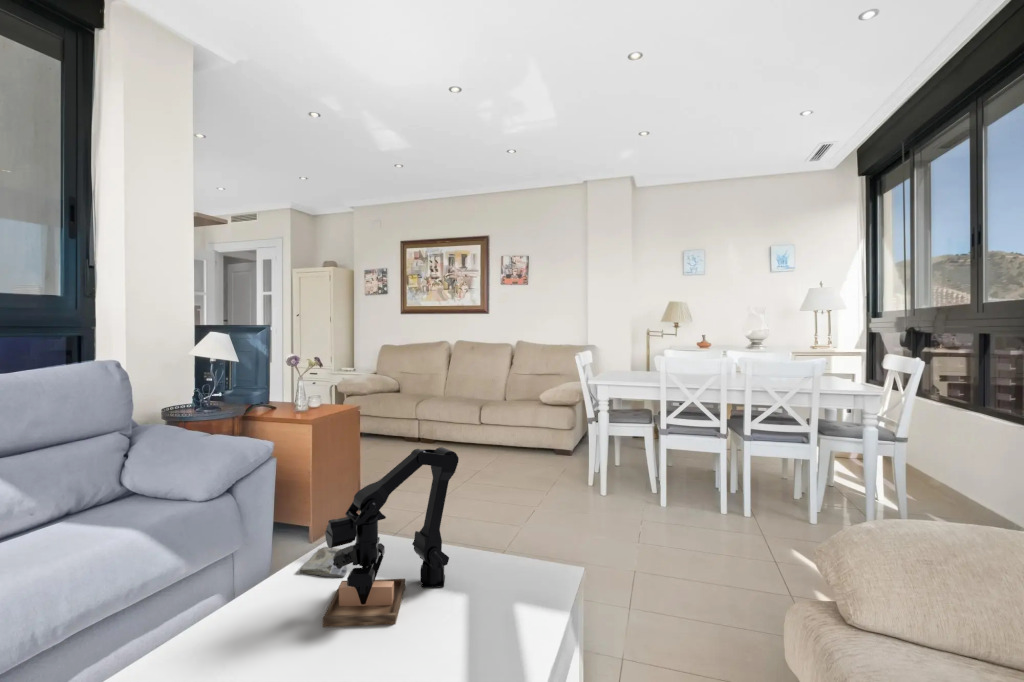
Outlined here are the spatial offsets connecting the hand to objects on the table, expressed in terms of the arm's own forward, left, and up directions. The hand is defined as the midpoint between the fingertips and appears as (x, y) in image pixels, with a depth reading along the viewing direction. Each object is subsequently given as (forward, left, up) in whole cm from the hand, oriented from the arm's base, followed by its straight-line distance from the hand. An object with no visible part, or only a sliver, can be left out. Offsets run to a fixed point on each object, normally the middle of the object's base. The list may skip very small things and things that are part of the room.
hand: (367, 594), depth 132 cm
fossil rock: (+17, -25, -4) cm, 30 cm away
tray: (0, 0, -3) cm, 3 cm away
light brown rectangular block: (0, 0, -2) cm, 2 cm away
